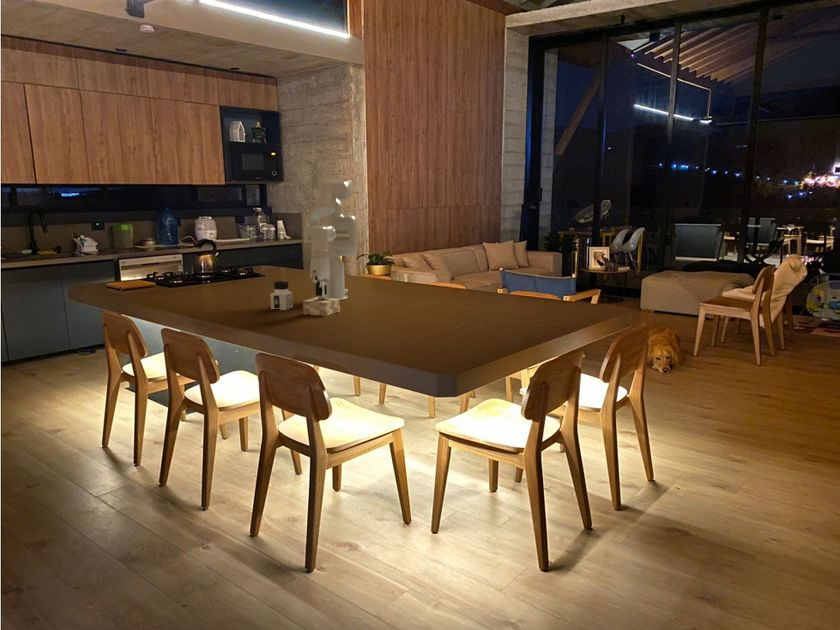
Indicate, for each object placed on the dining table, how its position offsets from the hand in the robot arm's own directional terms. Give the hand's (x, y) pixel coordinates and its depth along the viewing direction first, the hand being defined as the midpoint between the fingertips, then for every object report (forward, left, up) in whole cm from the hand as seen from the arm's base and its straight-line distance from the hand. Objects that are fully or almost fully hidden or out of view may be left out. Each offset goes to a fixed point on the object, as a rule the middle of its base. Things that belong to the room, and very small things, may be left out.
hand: (321, 294), depth 286 cm
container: (-2, -23, -9) cm, 25 cm away
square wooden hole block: (0, 0, -8) cm, 8 cm away
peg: (0, 0, -4) cm, 4 cm away
